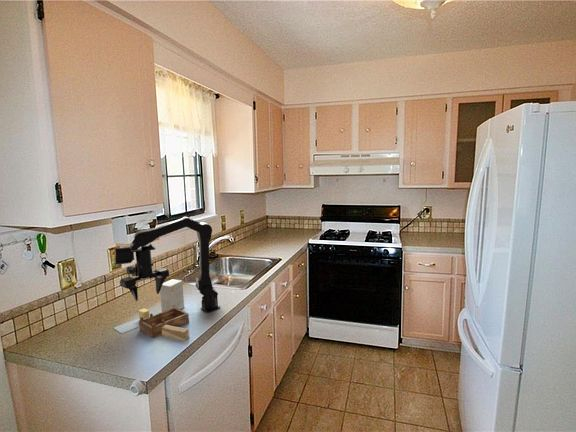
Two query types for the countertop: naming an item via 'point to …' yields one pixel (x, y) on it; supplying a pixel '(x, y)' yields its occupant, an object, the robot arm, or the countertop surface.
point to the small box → (172, 295)
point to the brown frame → (163, 321)
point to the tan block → (175, 332)
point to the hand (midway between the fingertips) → (147, 297)
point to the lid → (132, 322)
